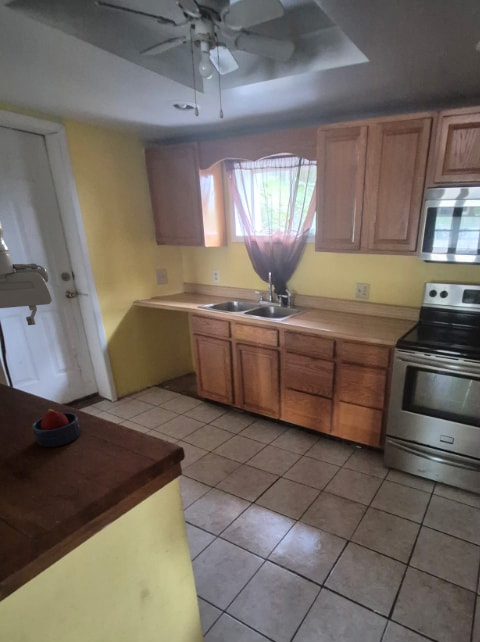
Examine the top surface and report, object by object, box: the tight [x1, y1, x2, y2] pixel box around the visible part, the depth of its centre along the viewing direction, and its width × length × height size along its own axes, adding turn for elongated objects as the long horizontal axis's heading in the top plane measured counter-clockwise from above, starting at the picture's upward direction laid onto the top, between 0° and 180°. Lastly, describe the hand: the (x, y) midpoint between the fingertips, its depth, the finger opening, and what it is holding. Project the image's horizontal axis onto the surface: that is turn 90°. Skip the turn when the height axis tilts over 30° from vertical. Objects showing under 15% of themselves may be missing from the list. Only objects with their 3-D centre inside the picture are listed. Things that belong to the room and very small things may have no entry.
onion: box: [41, 408, 69, 430], centre depth 94 cm, size 6×6×8 cm
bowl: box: [31, 412, 82, 448], centre depth 95 cm, size 10×10×5 cm
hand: (7, 327), depth 86 cm, fingers open, 8 cm apart
